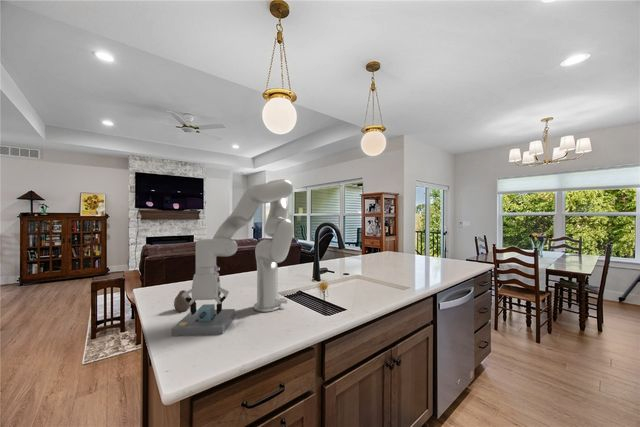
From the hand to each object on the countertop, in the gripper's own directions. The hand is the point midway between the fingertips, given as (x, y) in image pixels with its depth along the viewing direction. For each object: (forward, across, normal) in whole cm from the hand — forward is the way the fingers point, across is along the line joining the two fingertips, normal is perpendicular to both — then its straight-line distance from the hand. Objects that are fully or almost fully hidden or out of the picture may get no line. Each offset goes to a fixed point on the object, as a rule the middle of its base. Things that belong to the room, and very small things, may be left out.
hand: (206, 313), depth 104 cm
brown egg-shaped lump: (+5, +16, -16) cm, 23 cm away
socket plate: (+4, 0, 0) cm, 4 cm away
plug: (+4, 0, +1) cm, 5 cm away
